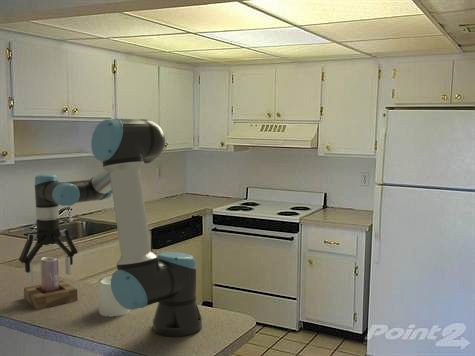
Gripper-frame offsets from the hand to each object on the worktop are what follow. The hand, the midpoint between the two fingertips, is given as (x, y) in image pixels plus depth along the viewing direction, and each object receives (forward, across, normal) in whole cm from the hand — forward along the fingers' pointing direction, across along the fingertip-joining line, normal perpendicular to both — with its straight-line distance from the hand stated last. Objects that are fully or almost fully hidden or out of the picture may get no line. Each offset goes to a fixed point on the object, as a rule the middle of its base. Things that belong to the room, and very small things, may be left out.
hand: (49, 277), depth 183 cm
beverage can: (+8, 0, 0) cm, 8 cm away
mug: (+8, -13, +24) cm, 29 cm away
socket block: (+8, 0, 0) cm, 8 cm away
